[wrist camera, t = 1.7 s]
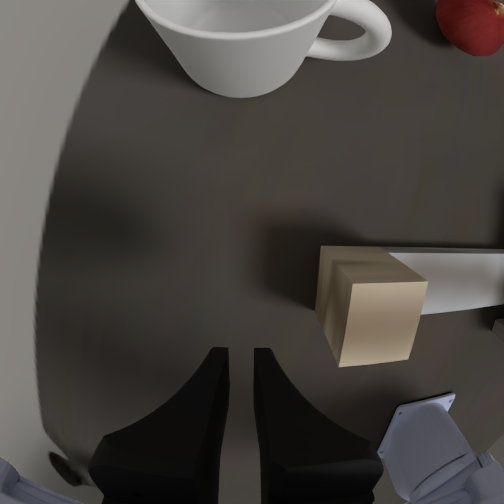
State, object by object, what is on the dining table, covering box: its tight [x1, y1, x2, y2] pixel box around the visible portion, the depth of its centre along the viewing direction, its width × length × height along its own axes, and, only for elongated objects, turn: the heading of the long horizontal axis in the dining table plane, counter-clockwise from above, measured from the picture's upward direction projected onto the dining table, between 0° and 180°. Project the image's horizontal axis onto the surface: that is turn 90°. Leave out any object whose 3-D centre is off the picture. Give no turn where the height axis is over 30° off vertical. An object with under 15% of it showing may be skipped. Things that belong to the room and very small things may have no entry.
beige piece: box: [315, 246, 504, 367], centre depth 18 cm, size 5×20×7 cm, turn 89°
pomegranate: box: [435, 0, 504, 56], centre depth 12 cm, size 6×6×8 cm
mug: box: [135, 0, 392, 98], centre depth 12 cm, size 12×8×10 cm
